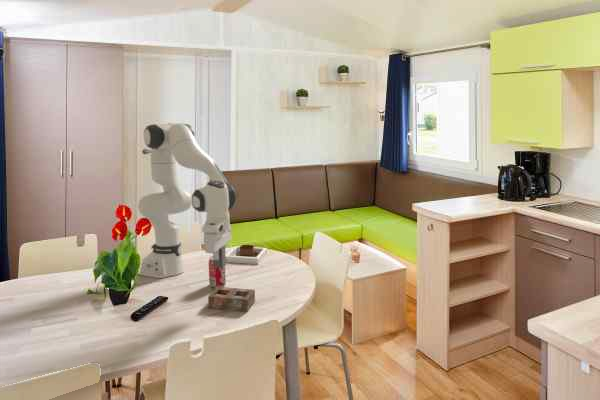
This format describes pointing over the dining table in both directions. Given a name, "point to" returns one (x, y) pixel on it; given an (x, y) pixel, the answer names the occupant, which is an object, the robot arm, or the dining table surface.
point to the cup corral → (241, 259)
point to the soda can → (216, 275)
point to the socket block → (231, 299)
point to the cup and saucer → (247, 251)
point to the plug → (222, 260)
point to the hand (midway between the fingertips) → (219, 257)
